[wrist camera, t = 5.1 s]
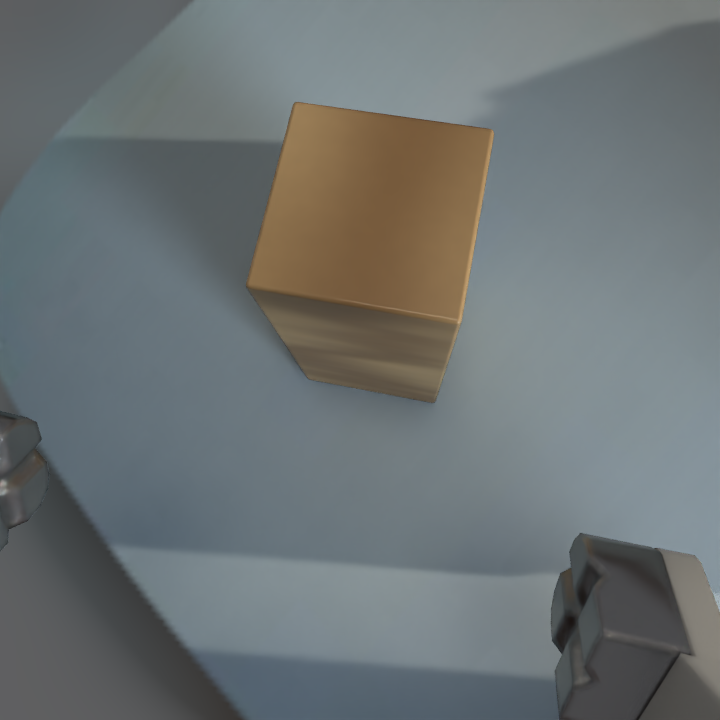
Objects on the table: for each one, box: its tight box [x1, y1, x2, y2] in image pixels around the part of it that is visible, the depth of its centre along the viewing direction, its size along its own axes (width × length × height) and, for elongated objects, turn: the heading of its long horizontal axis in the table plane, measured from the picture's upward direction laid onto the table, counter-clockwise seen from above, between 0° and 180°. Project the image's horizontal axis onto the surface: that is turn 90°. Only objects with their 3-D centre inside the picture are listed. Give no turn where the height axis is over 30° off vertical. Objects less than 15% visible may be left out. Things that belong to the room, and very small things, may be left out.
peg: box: [246, 102, 494, 403], centre depth 15 cm, size 4×4×8 cm
